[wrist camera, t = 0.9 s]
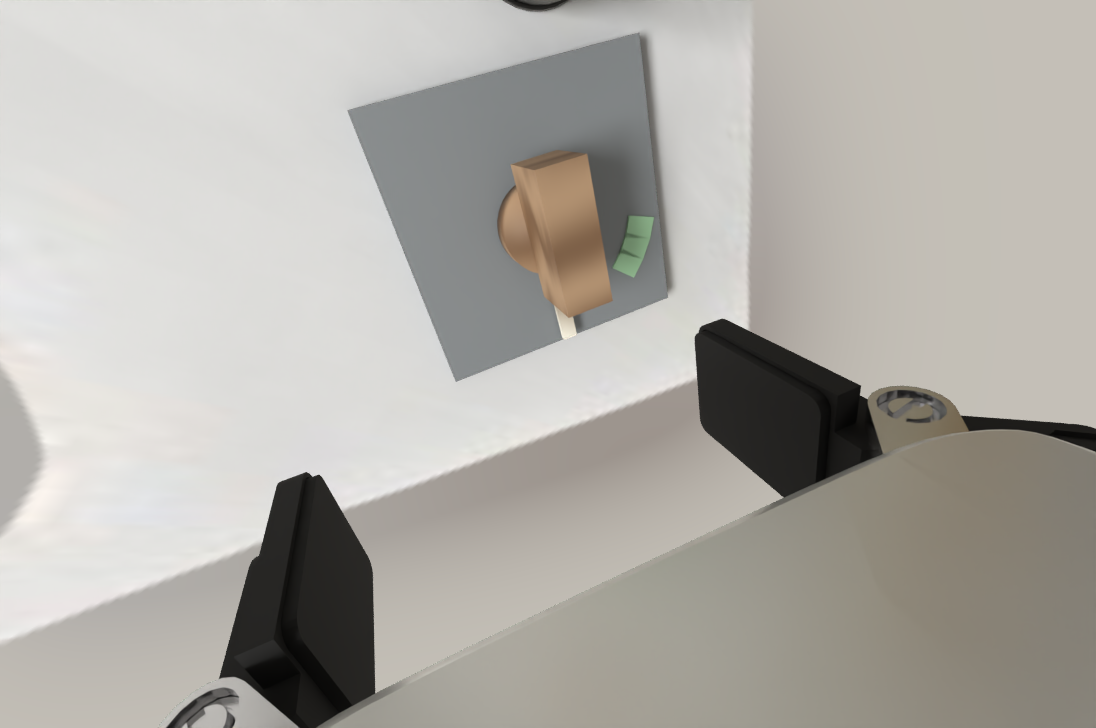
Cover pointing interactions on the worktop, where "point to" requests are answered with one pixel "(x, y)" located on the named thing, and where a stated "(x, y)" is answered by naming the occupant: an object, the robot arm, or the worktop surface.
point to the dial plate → (486, 177)
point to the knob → (557, 232)
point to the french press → (535, 4)
